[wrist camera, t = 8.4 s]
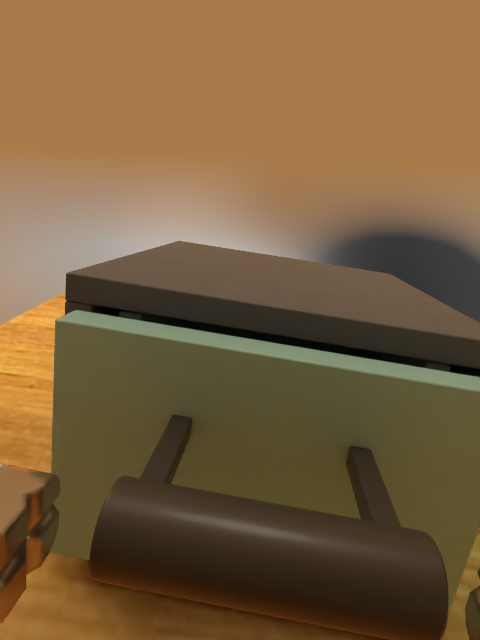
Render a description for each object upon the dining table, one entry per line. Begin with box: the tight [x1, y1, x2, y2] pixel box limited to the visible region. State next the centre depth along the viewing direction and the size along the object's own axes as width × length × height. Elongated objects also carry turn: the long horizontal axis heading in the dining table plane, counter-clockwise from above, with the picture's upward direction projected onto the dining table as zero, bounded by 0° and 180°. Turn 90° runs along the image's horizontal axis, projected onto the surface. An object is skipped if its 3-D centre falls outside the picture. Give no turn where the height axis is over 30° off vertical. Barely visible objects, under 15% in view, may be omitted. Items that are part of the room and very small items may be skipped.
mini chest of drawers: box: [65, 241, 480, 377], centre depth 21 cm, size 15×14×10 cm
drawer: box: [50, 310, 480, 640], centre depth 16 cm, size 18×13×8 cm
